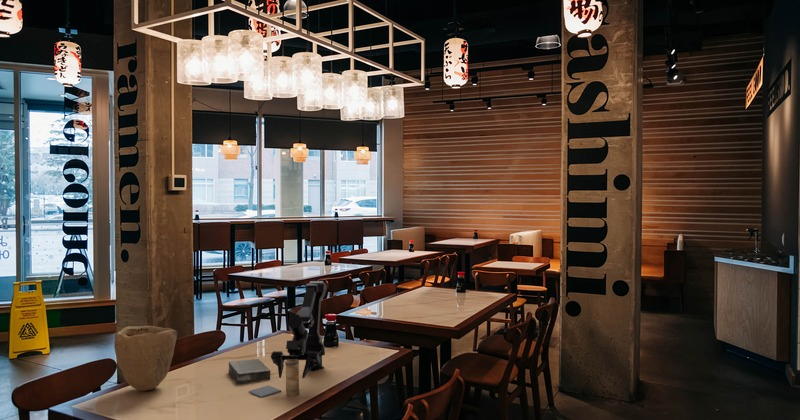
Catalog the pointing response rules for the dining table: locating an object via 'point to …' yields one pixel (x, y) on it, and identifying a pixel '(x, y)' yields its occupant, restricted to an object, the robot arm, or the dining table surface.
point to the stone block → (248, 371)
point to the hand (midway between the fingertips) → (291, 377)
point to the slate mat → (264, 391)
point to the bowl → (145, 354)
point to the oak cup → (292, 377)
